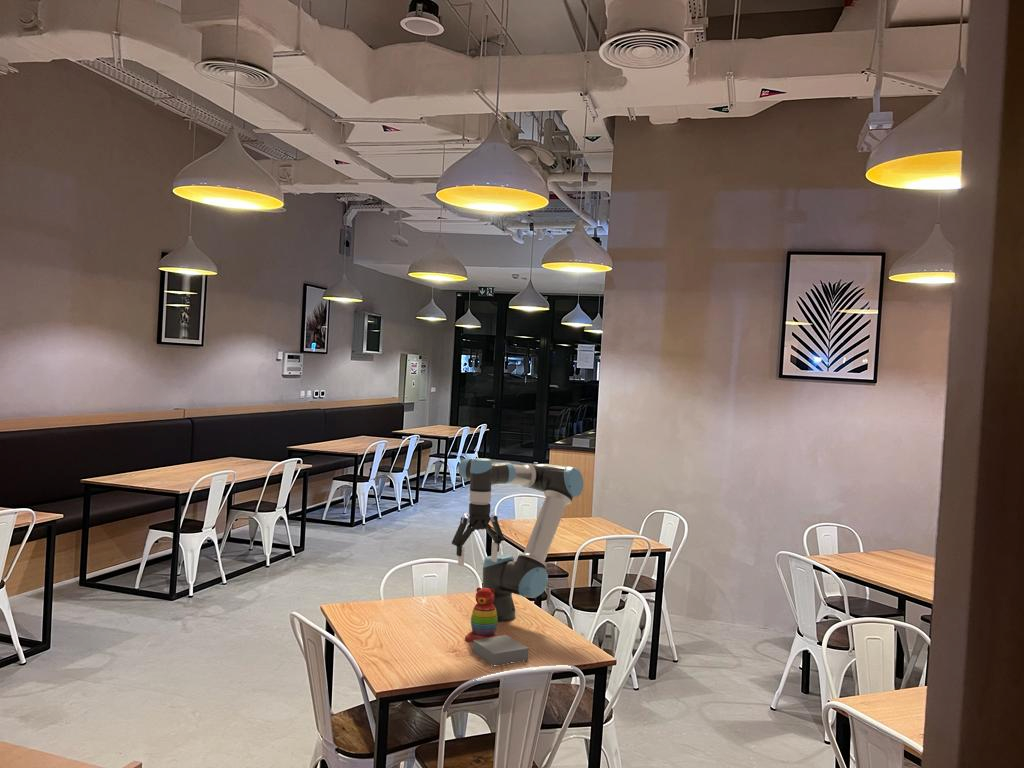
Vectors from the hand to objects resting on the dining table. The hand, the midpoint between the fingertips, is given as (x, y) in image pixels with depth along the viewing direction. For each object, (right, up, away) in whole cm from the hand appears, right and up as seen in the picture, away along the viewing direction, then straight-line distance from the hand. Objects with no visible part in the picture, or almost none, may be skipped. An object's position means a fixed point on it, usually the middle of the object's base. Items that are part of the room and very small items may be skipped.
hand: (477, 563), depth 253 cm
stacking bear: (+2, -27, 0) cm, 27 cm away
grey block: (+8, -27, -16) cm, 32 cm away
